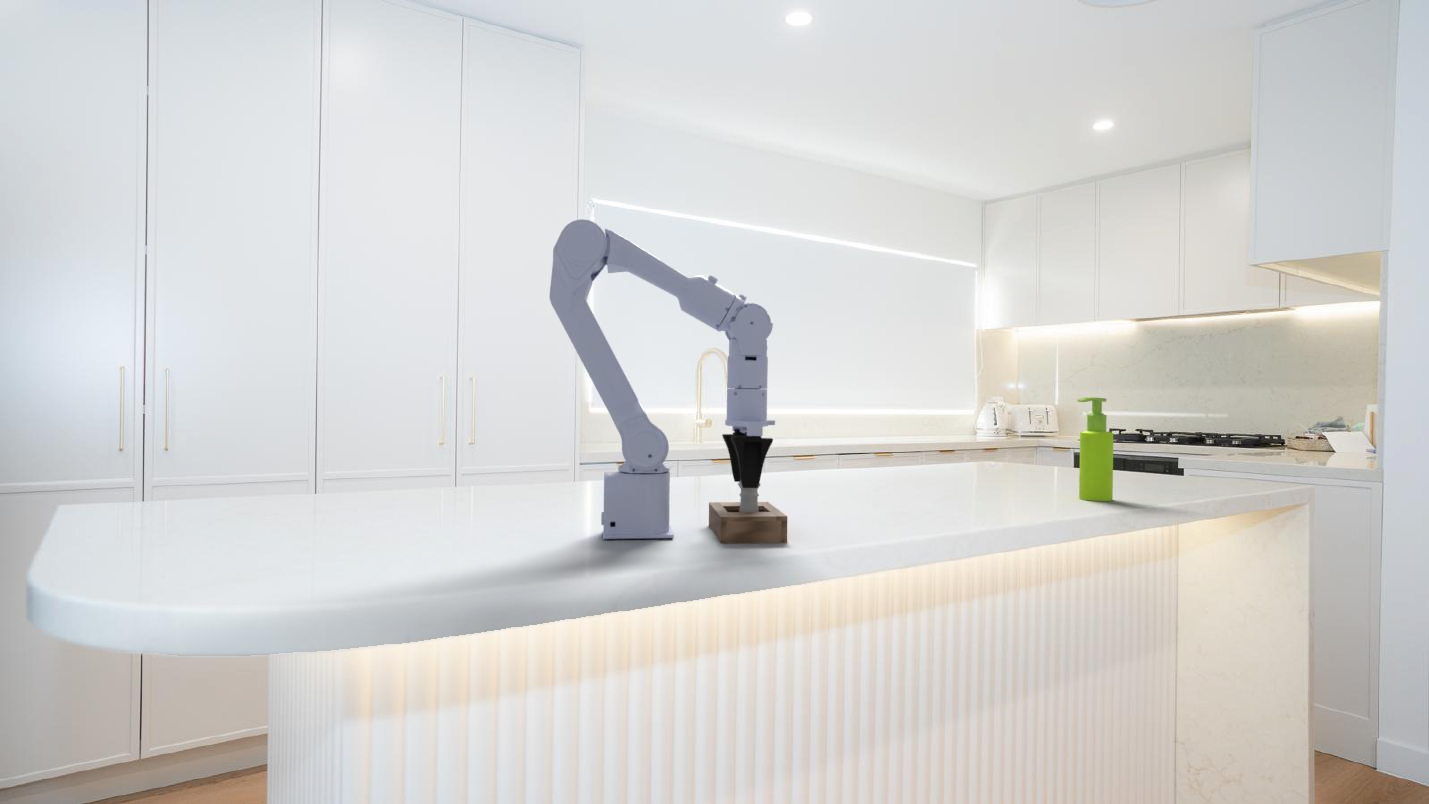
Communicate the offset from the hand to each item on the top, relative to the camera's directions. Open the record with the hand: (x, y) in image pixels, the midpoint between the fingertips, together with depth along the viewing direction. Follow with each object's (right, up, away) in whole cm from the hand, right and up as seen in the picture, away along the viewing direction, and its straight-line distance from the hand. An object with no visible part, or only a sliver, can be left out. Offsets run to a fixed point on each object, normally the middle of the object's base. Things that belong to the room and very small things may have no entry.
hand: (745, 484), depth 110 cm
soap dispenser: (+70, -8, +42) cm, 82 cm away
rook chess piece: (0, -7, 0) cm, 7 cm away
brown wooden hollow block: (0, -7, 0) cm, 7 cm away
